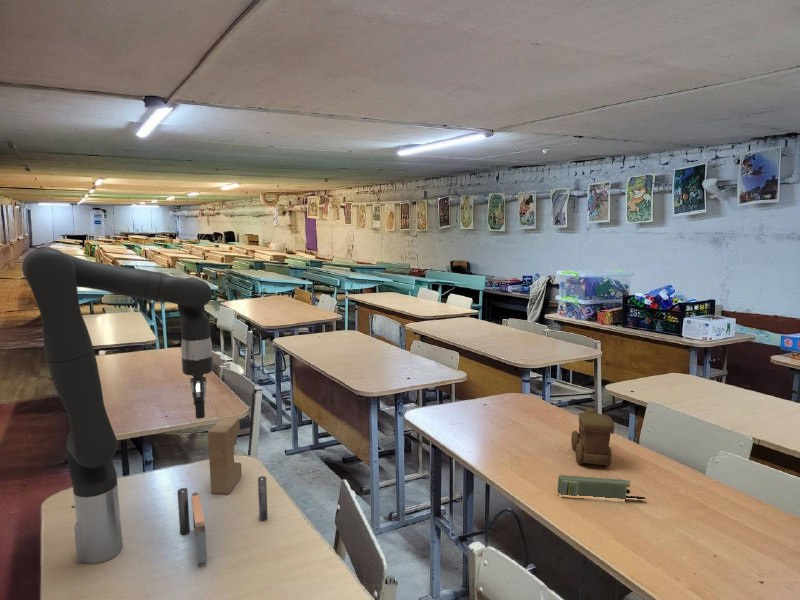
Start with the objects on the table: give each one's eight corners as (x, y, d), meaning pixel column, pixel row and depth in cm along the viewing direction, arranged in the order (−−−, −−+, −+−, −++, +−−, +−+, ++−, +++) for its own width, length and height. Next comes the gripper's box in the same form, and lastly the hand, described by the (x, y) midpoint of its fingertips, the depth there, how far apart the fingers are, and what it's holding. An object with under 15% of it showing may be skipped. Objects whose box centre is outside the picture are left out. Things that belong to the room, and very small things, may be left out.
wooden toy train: (613, 473, 172) (617, 425, 169) (577, 470, 174) (580, 422, 171) (601, 447, 191) (605, 403, 189) (569, 444, 193) (572, 401, 191)
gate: (192, 526, 138) (190, 493, 137) (200, 524, 139) (199, 491, 138) (197, 563, 124) (195, 527, 122) (206, 561, 125) (204, 525, 123)
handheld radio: (556, 493, 160) (642, 499, 157) (558, 499, 157) (646, 506, 153) (558, 473, 158) (645, 479, 155) (560, 478, 155) (648, 485, 152)
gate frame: (179, 536, 136) (177, 493, 134) (180, 530, 138) (177, 488, 136) (268, 520, 143) (266, 480, 141) (267, 515, 146) (265, 475, 144)
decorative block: (225, 475, 167) (222, 416, 164) (242, 476, 167) (240, 417, 163) (209, 493, 156) (206, 430, 153) (228, 495, 156) (225, 431, 152)
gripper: (183, 349, 142) (186, 410, 145) (180, 362, 129) (183, 428, 132) (212, 347, 144) (215, 407, 147) (212, 360, 132) (215, 425, 135)
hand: (200, 417), depth 140 cm, fingers closed
